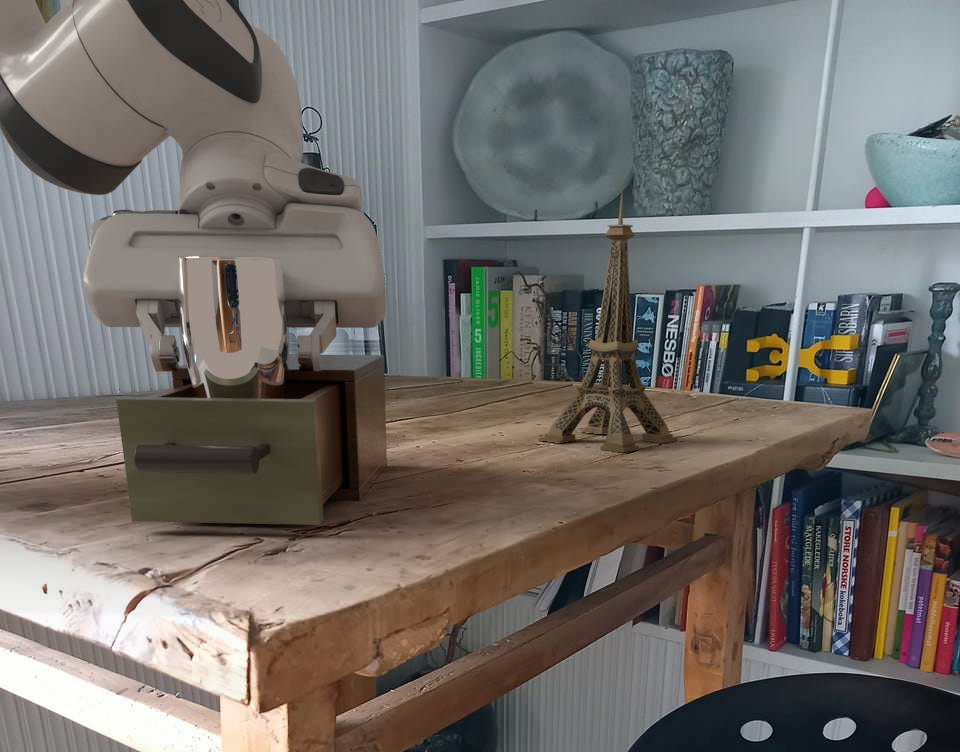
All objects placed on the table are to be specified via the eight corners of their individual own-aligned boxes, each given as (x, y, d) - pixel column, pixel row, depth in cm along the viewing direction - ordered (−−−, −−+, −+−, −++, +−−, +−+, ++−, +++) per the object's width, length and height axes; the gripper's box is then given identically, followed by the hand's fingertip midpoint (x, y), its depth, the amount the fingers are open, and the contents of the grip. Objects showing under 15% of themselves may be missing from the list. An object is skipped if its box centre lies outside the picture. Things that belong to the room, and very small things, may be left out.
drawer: (303, 544, 56) (294, 411, 53) (100, 540, 56) (81, 408, 54) (356, 482, 73) (352, 379, 70) (200, 480, 73) (189, 378, 71)
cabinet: (359, 500, 71) (354, 370, 68) (184, 497, 72) (170, 368, 68) (387, 465, 85) (384, 355, 81) (239, 462, 85) (230, 353, 82)
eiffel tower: (595, 430, 106) (607, 185, 97) (677, 440, 99) (698, 179, 90) (538, 441, 98) (545, 177, 89) (623, 452, 92) (640, 169, 83)
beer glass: (177, 495, 63) (151, 256, 58) (227, 475, 69) (207, 258, 64) (272, 501, 62) (254, 256, 56) (314, 481, 68) (301, 259, 63)
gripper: (79, 173, 64) (59, 331, 58) (381, 180, 66) (389, 332, 60) (105, 246, 69) (88, 397, 64) (381, 250, 72) (389, 395, 66)
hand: (237, 365), depth 62 cm, fingers open, 8 cm apart
